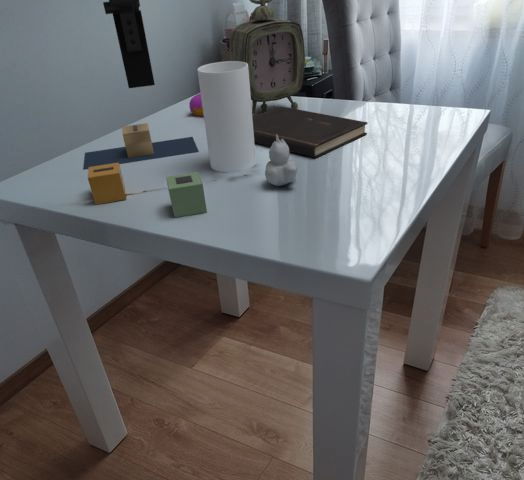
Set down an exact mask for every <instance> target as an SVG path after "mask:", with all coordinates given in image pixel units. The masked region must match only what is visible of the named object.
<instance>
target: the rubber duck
mask: <svg viewBox="0 0 524 480" xmlns="http://www.w3.org/2000/svg"><path fill="white" fill-rule="evenodd" d="M268 158H269V160H270V161H268V162H267V163H266V166H265V170H264V175H265V179H266V181H267V182H268V183H269V184H271V185H273V186H276V187H280V186H281V187H282V186H285V185H288V184H289V183H294V182H295V181H297V173H298V165H297V163H296V161H294V160H291V159H290V151H289V147H288V145H287V144H286V143H285V141H284V140H283V139H281V140H279V138H278V135H277V134H276V141H274V143H272V147H270V148H269V151H268Z"/></svg>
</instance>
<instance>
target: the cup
mask: <svg viewBox="0 0 524 480" xmlns="http://www.w3.org/2000/svg"><path fill="white" fill-rule="evenodd" d="M197 78H198V85H199V92H200V93H201V100H202V107H203V115H204V116H203V122H204V128H205V135H206V142H207V143H206V144H207V149H208V157H209V164H210V168H211V169H212V170H213V171H216V172H220V173H236V172H242V171H245V170H249V169H251V168H252V167H254V166H255V165H256V163H257V157H256V147H255V146H256V145H255V144H256V143H254V132H253V119H252V112H253V106H252V100H251V94H250V82H249V69H248V64H247V63H245V62H239V61H230V60H226V61H216V62H211V63H207V64H203V65H201V66H199V67H197ZM200 93H199V94H200Z"/></svg>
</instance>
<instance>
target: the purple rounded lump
mask: <svg viewBox="0 0 524 480" xmlns="http://www.w3.org/2000/svg"><path fill="white" fill-rule="evenodd" d="M189 111H190V112H191V113H192V114H193V115H195V116H197V117H204V115H203V107H202V100H201V93H197V94H196V95H194V96H192V97H191V99H190V100H189Z"/></svg>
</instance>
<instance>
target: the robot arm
mask: <svg viewBox="0 0 524 480" xmlns="http://www.w3.org/2000/svg"><path fill="white" fill-rule="evenodd" d="M102 5H103V9H104V13H105V15H112V18H113V21H114V22H113V23H114V27H115V31H116V36H117V41H118V45H119V50H120V55H121V58H122V64H123V68H124V72H125V77H126V82H127V86H128V89H136V88H143V87H152V86H155V85H156V83H155V78H154V72H153V68H152V63H151V56H150V51H149V46H148V40H147V36H146V31H145V26H144V20H143V15H142V10H141V9H140V7H141V4H140V0H108V1H103V2H102Z"/></svg>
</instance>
